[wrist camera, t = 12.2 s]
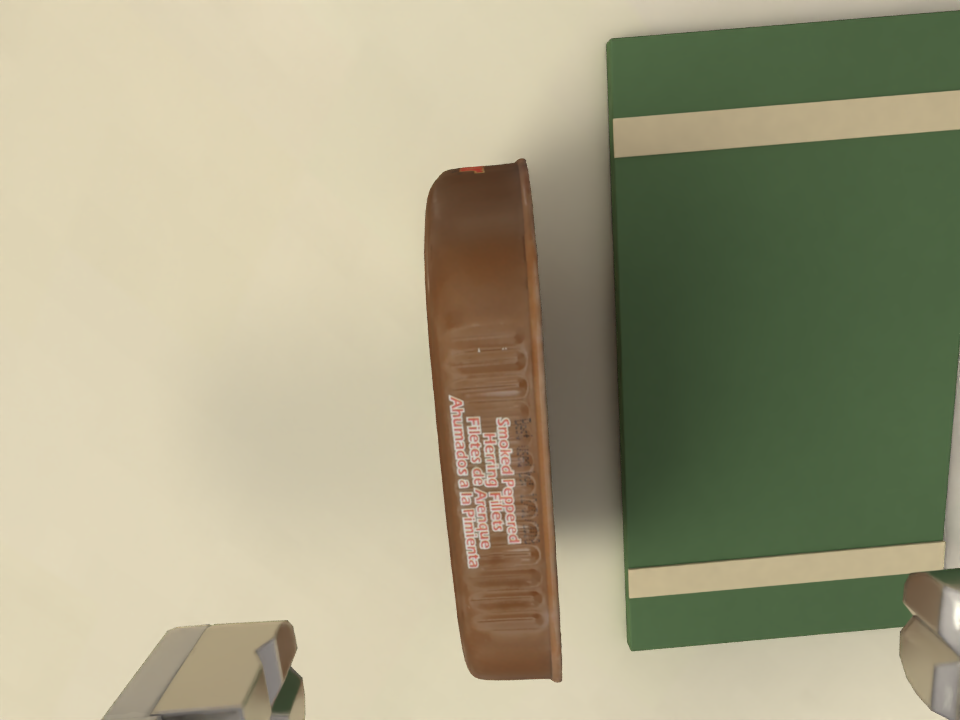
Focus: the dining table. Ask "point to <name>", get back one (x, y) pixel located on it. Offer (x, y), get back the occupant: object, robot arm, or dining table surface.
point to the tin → (493, 419)
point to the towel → (784, 322)
